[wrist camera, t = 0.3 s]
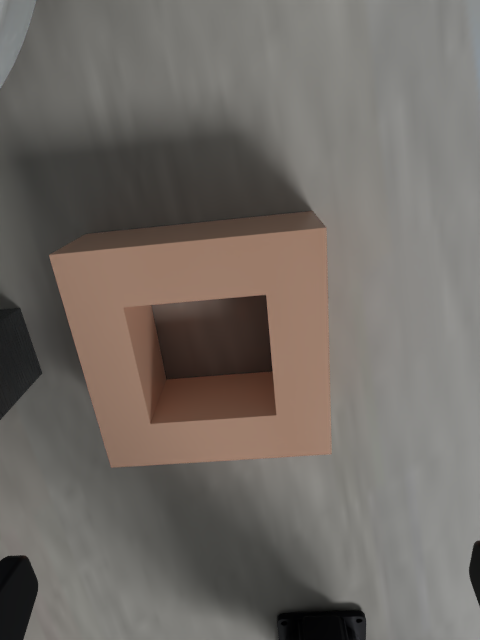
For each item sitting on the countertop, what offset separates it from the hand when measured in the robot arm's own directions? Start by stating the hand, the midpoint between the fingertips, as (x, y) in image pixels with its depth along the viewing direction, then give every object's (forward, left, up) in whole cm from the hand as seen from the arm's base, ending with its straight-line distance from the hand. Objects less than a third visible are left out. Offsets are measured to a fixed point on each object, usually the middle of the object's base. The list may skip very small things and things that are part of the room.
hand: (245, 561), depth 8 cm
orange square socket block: (-1, +2, -14) cm, 15 cm away
